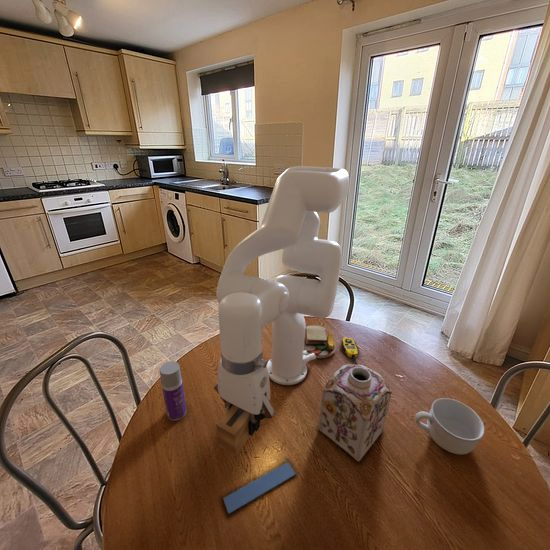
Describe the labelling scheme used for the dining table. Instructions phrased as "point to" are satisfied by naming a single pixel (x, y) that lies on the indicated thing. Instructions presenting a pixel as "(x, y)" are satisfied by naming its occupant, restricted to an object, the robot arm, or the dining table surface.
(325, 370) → the dining table surface
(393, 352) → the dining table surface
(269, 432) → the dining table surface
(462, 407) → the teacup
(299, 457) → the dining table surface
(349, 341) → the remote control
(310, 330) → the toy sandwich meal
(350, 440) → the decorative jar
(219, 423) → the token holder
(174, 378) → the container
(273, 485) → the strip
